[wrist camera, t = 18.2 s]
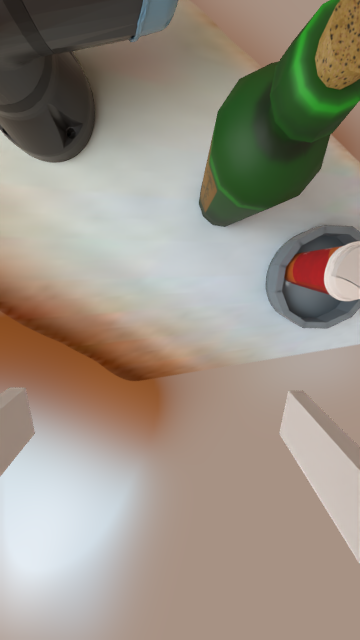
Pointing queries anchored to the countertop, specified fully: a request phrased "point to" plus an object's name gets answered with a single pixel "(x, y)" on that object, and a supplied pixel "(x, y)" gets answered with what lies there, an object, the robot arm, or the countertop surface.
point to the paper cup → (328, 271)
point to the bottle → (283, 118)
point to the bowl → (303, 302)
